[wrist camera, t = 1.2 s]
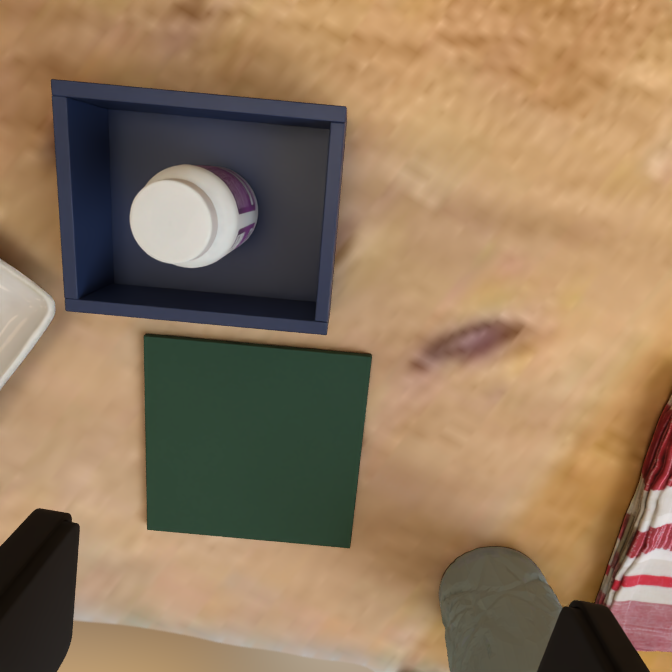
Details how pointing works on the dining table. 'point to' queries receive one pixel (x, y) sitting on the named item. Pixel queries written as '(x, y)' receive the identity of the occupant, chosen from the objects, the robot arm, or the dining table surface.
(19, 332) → the square plate
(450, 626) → the gray cup
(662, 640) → the dish towel
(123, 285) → the basket
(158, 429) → the mat
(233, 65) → the dining table surface
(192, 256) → the pill bottle
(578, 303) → the dining table surface
